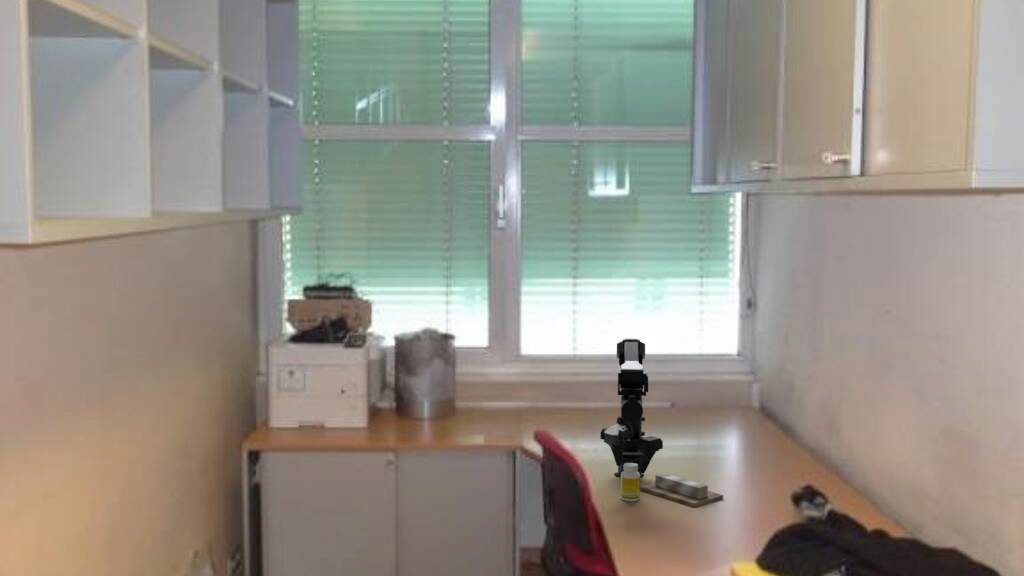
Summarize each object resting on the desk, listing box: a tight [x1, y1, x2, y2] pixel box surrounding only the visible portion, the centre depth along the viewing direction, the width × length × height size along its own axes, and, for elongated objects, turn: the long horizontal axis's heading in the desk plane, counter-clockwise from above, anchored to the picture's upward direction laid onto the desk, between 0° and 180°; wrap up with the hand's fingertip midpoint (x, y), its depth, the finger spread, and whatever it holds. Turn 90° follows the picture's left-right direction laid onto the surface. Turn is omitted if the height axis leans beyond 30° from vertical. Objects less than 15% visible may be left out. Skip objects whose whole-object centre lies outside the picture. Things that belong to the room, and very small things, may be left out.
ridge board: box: [640, 472, 724, 508], centre depth 279 cm, size 20×12×4 cm, turn 39°
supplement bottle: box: [619, 463, 641, 502], centre depth 275 cm, size 5×5×10 cm
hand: (630, 469), depth 275 cm, fingers open, 9 cm apart
